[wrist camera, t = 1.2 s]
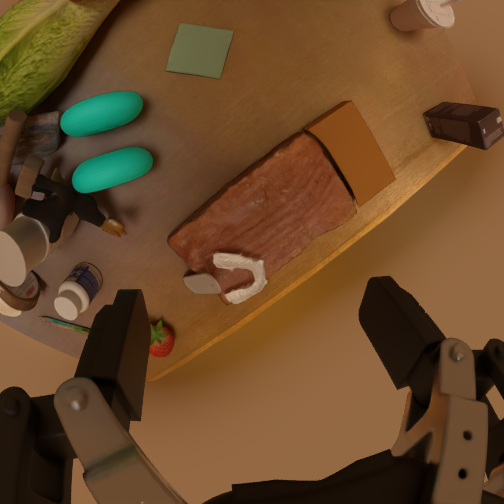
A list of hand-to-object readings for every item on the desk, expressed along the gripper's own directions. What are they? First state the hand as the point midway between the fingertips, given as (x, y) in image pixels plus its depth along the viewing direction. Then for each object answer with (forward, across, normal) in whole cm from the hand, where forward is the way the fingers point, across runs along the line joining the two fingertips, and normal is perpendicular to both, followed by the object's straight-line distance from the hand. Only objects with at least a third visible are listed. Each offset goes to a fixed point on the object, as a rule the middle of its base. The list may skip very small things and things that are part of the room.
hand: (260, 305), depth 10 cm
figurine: (+18, +22, 0) cm, 28 cm away
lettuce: (+31, +23, -18) cm, 43 cm away
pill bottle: (+29, +22, +18) cm, 40 cm away
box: (+28, -33, -9) cm, 44 cm away
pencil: (+28, +37, +27) cm, 54 cm away
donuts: (+30, +13, -3) cm, 33 cm away
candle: (+30, +24, +7) cm, 39 cm away
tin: (+30, +37, +15) cm, 50 cm away
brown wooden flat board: (+28, -8, +6) cm, 30 cm away
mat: (+30, +3, -14) cm, 33 cm away
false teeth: (+22, -2, +14) cm, 26 cm away
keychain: (+23, +2, +18) cm, 29 cm away
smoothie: (+30, -25, -24) cm, 46 cm away
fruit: (+26, +11, +32) cm, 43 cm away
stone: (+30, +30, -2) cm, 42 cm away
